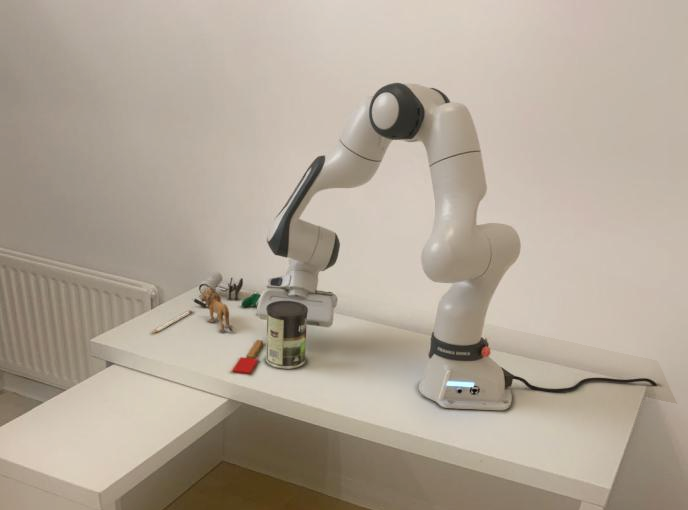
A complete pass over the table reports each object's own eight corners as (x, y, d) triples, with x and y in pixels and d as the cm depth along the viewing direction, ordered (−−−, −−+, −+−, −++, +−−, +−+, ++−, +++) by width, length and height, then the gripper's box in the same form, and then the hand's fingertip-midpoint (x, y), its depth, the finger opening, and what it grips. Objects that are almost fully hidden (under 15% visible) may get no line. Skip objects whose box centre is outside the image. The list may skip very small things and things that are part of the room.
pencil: (191, 313, 218) (191, 310, 218) (154, 334, 204) (154, 331, 204) (189, 312, 218) (189, 310, 218) (152, 333, 204) (151, 331, 204)
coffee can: (308, 354, 197) (311, 302, 188) (300, 371, 189) (303, 318, 180) (270, 349, 198) (271, 297, 190) (261, 366, 190) (261, 313, 182)
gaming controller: (266, 320, 221) (277, 303, 221) (259, 313, 217) (270, 296, 218) (246, 310, 226) (257, 294, 226) (239, 304, 223) (250, 287, 223)
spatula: (268, 345, 201) (268, 341, 201) (250, 374, 186) (250, 370, 185) (251, 343, 202) (251, 338, 201) (232, 372, 187) (232, 367, 186)
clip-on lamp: (221, 320, 222) (246, 289, 233) (220, 302, 217) (246, 271, 228) (185, 310, 224) (212, 280, 235) (184, 291, 219) (211, 261, 230)
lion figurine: (197, 317, 215) (196, 287, 210) (213, 314, 218) (213, 283, 212) (225, 335, 206) (224, 303, 200) (241, 331, 208) (241, 299, 203)
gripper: (339, 298, 199) (330, 347, 197) (265, 289, 202) (255, 337, 200) (337, 287, 193) (328, 337, 191) (261, 278, 196) (251, 327, 194)
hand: (290, 337), depth 195 cm, fingers closed, pressing on coffee can
